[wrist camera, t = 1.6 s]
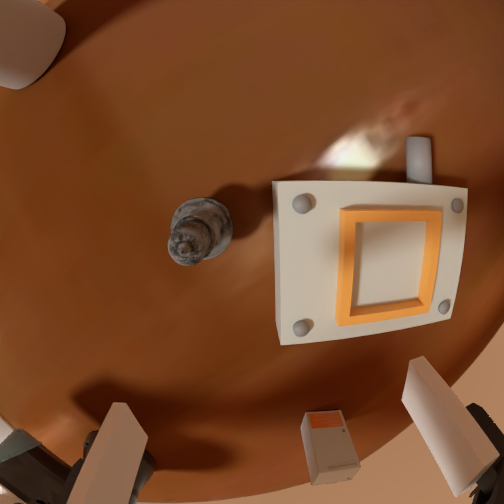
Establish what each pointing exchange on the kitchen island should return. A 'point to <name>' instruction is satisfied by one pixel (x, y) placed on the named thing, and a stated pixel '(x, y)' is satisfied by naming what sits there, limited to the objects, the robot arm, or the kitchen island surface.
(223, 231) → the chess piece
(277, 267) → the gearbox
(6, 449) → the robot arm
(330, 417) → the skincare box
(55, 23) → the cylinder vase
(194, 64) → the kitchen island surface
